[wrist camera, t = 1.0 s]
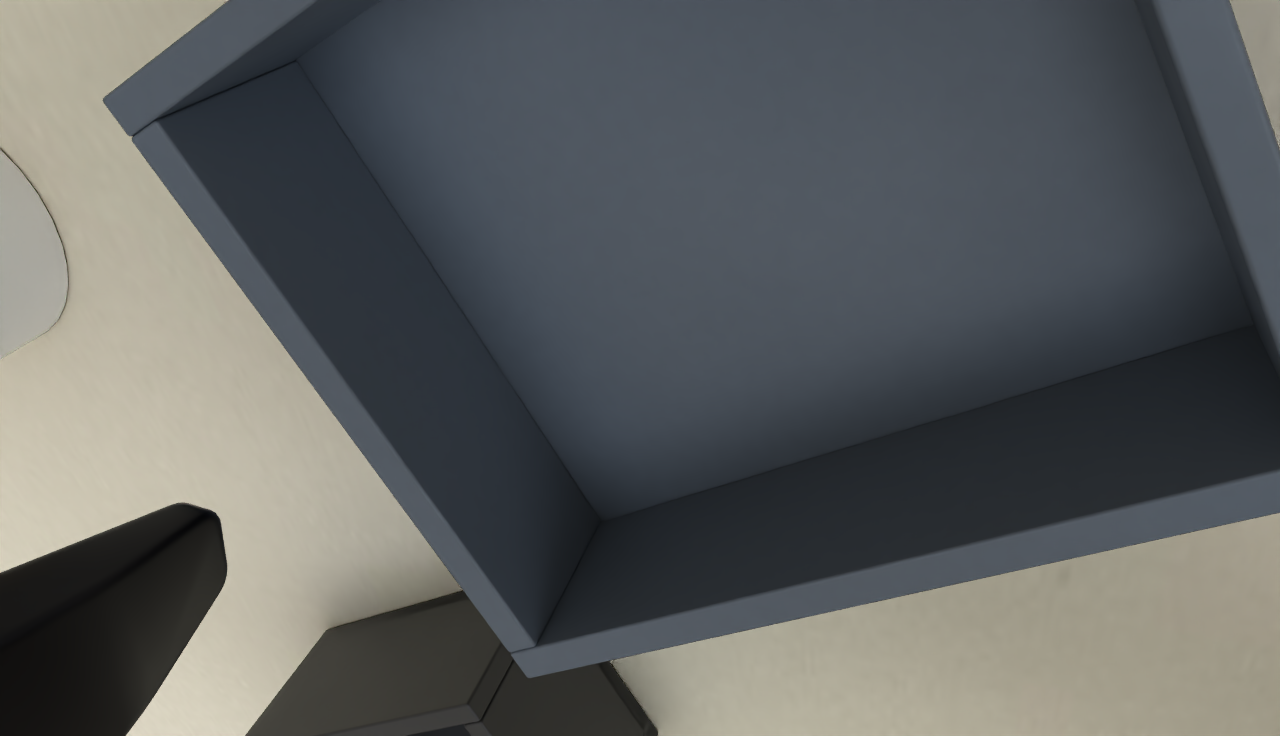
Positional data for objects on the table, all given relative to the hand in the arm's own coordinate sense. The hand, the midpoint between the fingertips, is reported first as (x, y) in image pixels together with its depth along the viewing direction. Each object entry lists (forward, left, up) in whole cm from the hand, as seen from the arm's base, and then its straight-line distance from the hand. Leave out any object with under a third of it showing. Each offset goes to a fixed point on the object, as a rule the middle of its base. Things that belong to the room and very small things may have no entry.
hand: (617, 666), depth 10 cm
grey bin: (+1, +1, -13) cm, 13 cm away
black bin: (-10, +16, -13) cm, 23 cm away
